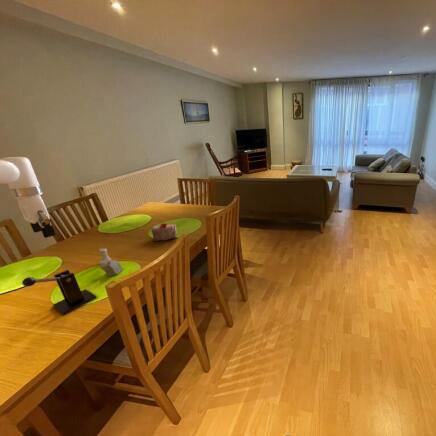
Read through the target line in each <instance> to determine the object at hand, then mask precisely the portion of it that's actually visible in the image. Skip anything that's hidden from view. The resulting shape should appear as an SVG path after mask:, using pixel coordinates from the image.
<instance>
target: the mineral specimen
mask: <svg viewBox="0 0 436 436" xmlns="http://www.w3.org/2000/svg"><path fill="white" fill-rule="evenodd" d="M98 263H99V266H100V269H101V270H102V271H103V272H105V273H106V275H107V276H109V277H112V276H116V275H118V274H120V272H121V271H122V270H123V267H122V265H121V264H120V263H119V262H118V260H116V259H111V260H104V261H101V260H100V261H99V262H98Z"/></svg>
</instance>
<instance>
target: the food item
mask: <svg viewBox="0 0 436 436" xmlns="http://www.w3.org/2000/svg"><path fill="white" fill-rule="evenodd" d="M151 233H152V238H153V241H154V242H156V241H164V242H165V241H168V240H173V239H174V240H175V238H174V237H177V236H178V232H177V225H176V224H175V223H174V224H168V223H165V222H163V223H161V224H160V225H153V227H152V228H151Z"/></svg>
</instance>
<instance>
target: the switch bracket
mask: <svg viewBox="0 0 436 436" xmlns="http://www.w3.org/2000/svg"><path fill="white" fill-rule="evenodd" d="M63 274H68V275H65V276H63V277H60V275H63ZM55 277H60V278H58V279H59V280H58V281H55V282H56V284H57V286H58V288H59V291H60V292H61V295H62V297H63V299H62V300H60V301H57V302H56V303H53V304H52V306H53V308H54V309H56V310H57V311H58V312H59V313H61V314H62V315H63V316H65V315H67V314H69V313H70V312H72V311H74V310H76V309H79V308H80V307H82V306H84V305H86V304H88V303H89V302H92V301H94V300H96V299H97V296H96V294H94V293H92V292H91V291H89V290H88V289H86V288H84V289H82V290H81V287H80V286H79V283H78V281H77V278H76V275H75V273H74V272H70V270H69V269H65V270H63V271H61V272H58V273H56V274H53V278H55Z"/></svg>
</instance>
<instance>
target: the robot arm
mask: <svg viewBox="0 0 436 436" xmlns="http://www.w3.org/2000/svg"><path fill="white" fill-rule="evenodd" d="M0 185H8V188H9V190H10V193H11V195H12V197H13V198H14V199H16V201H17V203H18V206H19V210H20V212H21V215H22V217H23V219H24V221H26V222H28V223H29V225H30V227H31V229H32V231H33V233H34V234H35V233H40V232H41V234H42V236H43V237H44V238H50V237H54V236H56V232H55V229H54V227H53V224H52V223H51V221H50V219H51V217H50V214H49V211H48V209H47V206H46V205H45V203H44V200H43V198H42V197H41V195H43V190H42V188H41V185H40V183H39V181H38V178H37V176H36V173H35V171H34V168H33V165H32V163H31V161H30V159H29V158H28V157H25V156H8V157H1V158H0Z"/></svg>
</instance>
